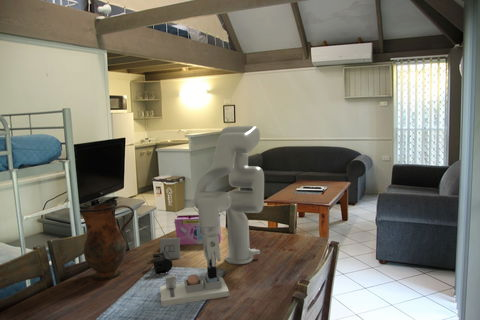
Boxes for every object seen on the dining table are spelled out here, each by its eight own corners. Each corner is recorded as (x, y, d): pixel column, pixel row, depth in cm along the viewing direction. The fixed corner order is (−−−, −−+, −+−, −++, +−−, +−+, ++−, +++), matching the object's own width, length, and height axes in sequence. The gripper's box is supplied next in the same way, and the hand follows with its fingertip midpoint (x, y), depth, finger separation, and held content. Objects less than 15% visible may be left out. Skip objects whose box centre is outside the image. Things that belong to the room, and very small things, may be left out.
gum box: (174, 245, 197) (172, 219, 195) (176, 240, 205) (175, 215, 203) (220, 243, 196) (219, 217, 195) (221, 238, 204) (220, 213, 202)
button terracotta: (198, 280, 144) (197, 273, 143) (199, 284, 140) (199, 278, 140) (187, 281, 143) (187, 275, 142) (188, 286, 139) (188, 279, 139)
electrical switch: (159, 259, 177) (158, 239, 177) (162, 256, 182) (161, 237, 182) (180, 259, 177) (179, 239, 177) (181, 255, 182) (180, 236, 182)
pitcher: (86, 271, 167) (80, 204, 163) (136, 263, 174) (131, 198, 170) (85, 287, 151) (78, 212, 148) (140, 277, 158) (135, 206, 155)
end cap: (173, 272, 162) (172, 257, 161) (156, 275, 160) (155, 260, 159) (169, 264, 171) (168, 249, 171) (153, 266, 169) (152, 252, 168)
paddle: (175, 285, 144) (175, 274, 143) (176, 287, 142) (175, 277, 141) (166, 286, 143) (165, 276, 143) (166, 288, 141) (165, 278, 141)
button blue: (216, 281, 146) (216, 275, 145) (218, 286, 142) (218, 279, 141) (206, 283, 145) (205, 276, 144) (207, 287, 141) (207, 281, 140)
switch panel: (222, 282, 150) (222, 271, 150) (229, 296, 139) (228, 284, 138) (160, 291, 145) (159, 280, 144) (161, 306, 133) (160, 294, 133)
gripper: (223, 234, 134) (226, 284, 137) (216, 222, 149) (218, 267, 151) (202, 237, 133) (205, 287, 135) (196, 225, 147) (199, 270, 149)
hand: (212, 276), depth 143 cm, fingers closed
